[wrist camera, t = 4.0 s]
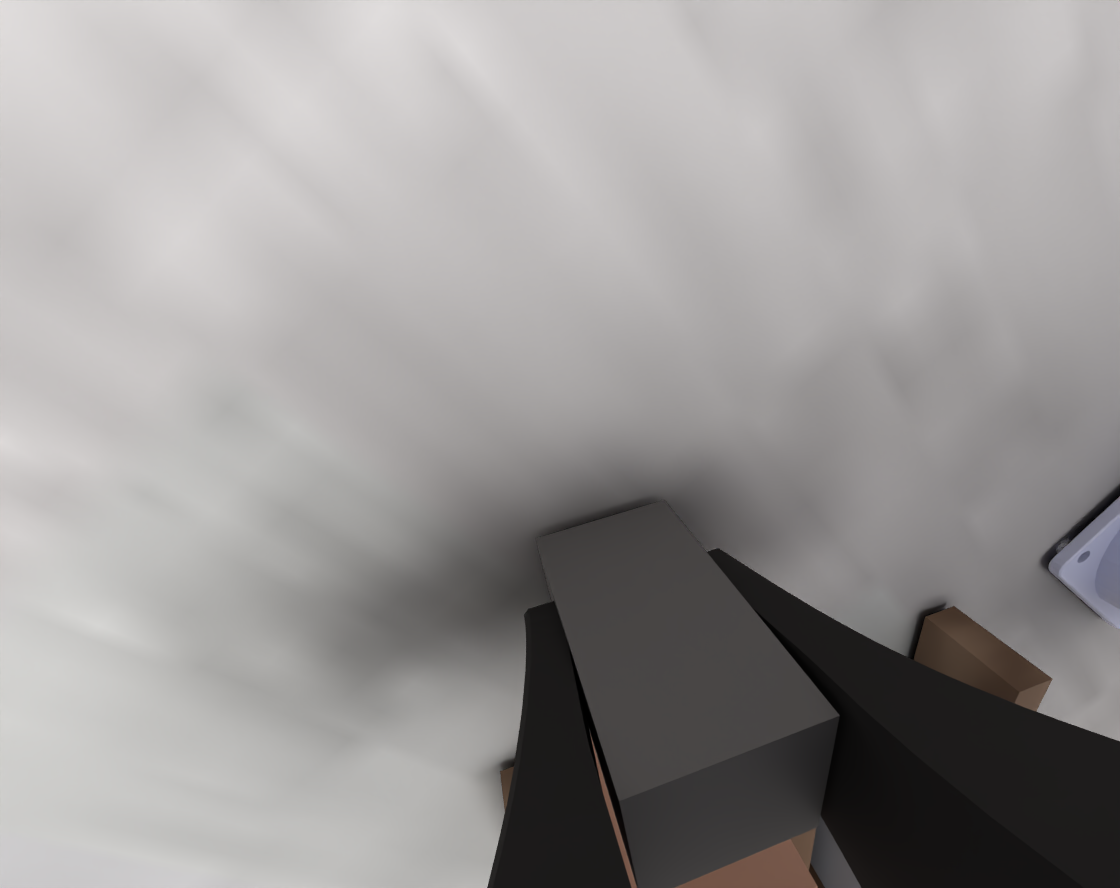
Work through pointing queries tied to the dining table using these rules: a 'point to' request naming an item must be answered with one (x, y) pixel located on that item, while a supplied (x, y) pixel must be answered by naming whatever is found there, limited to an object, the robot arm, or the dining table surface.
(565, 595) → the block
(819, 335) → the dining table surface
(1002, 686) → the shelf lanes
